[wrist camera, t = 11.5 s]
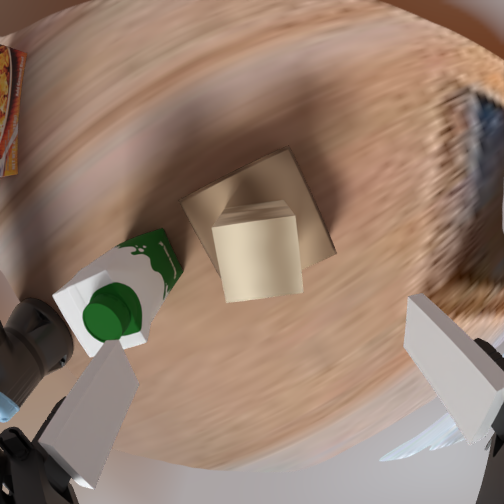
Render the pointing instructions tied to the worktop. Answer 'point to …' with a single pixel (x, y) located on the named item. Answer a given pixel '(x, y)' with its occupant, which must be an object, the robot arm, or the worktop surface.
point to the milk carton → (120, 292)
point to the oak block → (258, 251)
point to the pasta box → (10, 106)
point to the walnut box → (259, 191)
